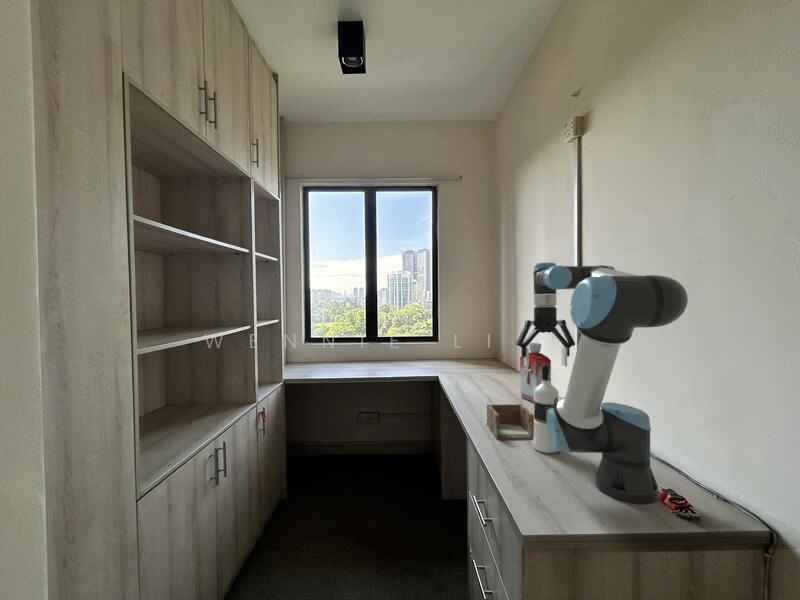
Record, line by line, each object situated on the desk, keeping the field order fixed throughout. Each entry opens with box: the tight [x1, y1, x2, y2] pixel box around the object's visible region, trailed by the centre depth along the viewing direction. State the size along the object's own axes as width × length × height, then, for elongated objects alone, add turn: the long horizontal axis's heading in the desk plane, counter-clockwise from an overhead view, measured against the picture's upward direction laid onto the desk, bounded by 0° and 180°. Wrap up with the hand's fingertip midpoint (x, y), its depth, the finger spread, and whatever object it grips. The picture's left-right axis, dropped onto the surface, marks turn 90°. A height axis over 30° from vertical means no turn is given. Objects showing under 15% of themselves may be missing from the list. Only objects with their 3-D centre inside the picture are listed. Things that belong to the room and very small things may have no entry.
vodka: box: [532, 365, 560, 455], centre depth 132 cm, size 9×9×30 cm
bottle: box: [519, 342, 552, 404], centre depth 193 cm, size 14×10×30 cm
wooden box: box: [486, 403, 534, 441], centre depth 149 cm, size 16×14×9 cm
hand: (545, 365), depth 132 cm, fingers open, 13 cm apart
